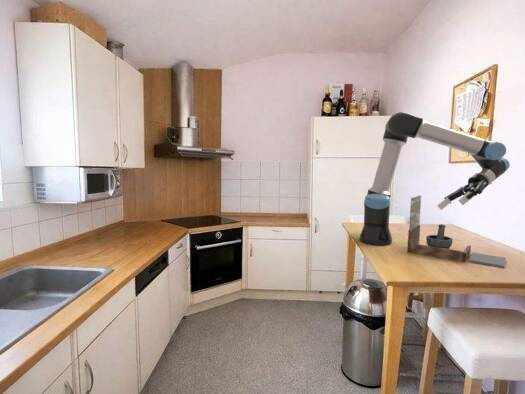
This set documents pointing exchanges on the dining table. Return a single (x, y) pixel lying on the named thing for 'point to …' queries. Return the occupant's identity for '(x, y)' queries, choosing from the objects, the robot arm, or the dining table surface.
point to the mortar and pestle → (439, 239)
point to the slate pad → (487, 260)
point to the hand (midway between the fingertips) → (449, 205)
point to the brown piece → (424, 249)
